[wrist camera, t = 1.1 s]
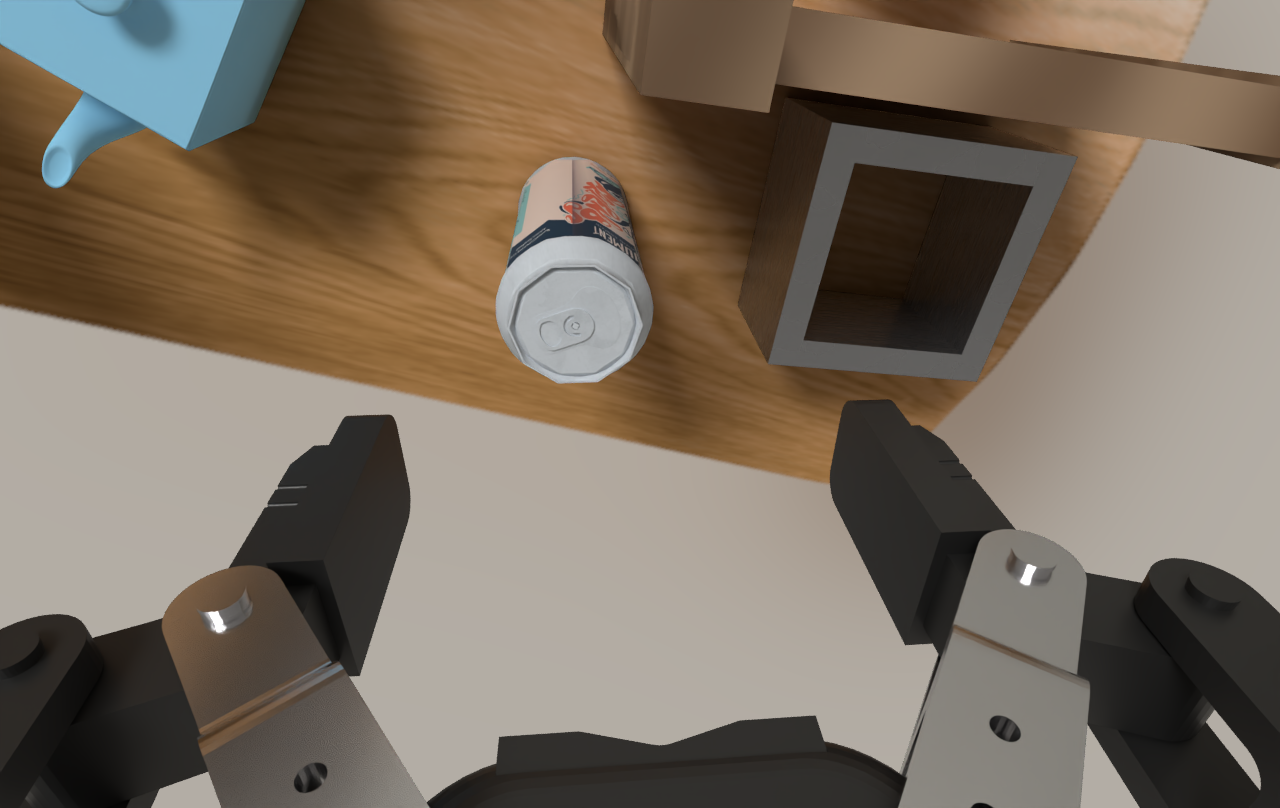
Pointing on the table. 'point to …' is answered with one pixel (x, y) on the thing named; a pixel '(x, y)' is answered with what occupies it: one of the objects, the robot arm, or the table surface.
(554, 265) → the beer can
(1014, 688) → the robot arm
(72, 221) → the table surface
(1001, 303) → the post bracket
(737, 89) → the headboard panel
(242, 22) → the teapot
